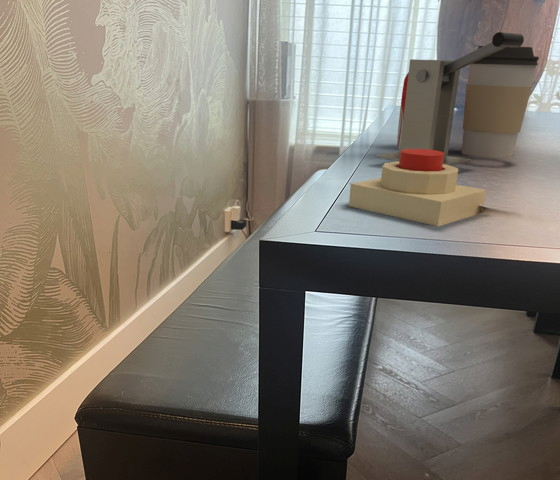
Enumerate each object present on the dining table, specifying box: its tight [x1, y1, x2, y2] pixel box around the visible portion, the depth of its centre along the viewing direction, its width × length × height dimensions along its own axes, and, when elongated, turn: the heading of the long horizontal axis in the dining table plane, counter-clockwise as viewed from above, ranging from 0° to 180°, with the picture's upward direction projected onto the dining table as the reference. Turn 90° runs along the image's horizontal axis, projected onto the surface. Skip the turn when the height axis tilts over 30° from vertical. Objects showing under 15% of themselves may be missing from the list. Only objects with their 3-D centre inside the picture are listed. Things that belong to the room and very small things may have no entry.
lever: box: [442, 31, 525, 85], centre depth 73 cm, size 12×5×2 cm, turn 46°
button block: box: [348, 161, 487, 227], centre depth 58 cm, size 10×8×4 cm
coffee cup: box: [461, 45, 540, 159], centre depth 84 cm, size 9×9×15 cm
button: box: [399, 149, 444, 171], centre depth 57 cm, size 4×4×2 cm
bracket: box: [374, 58, 472, 166], centre depth 79 cm, size 10×8×13 cm
